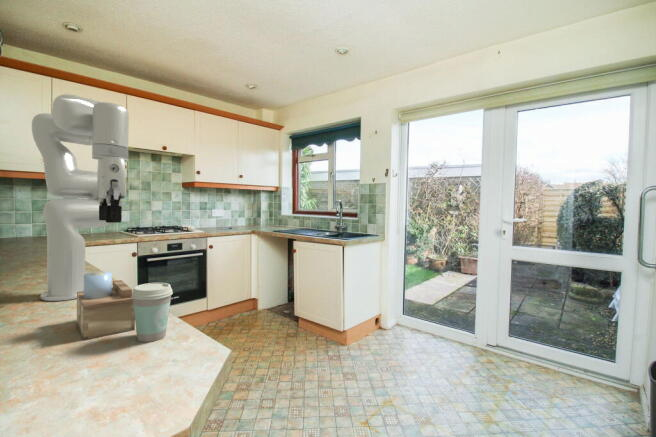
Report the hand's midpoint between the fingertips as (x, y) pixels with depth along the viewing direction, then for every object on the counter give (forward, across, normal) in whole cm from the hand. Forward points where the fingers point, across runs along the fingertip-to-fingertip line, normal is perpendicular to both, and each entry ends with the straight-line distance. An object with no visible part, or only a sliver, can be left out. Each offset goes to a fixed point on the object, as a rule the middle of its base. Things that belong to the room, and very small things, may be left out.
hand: (109, 221), depth 80 cm
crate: (+26, -2, +1) cm, 26 cm away
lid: (+19, -2, +1) cm, 19 cm away
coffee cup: (+26, -16, -6) cm, 32 cm away
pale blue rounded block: (+18, -2, +3) cm, 19 cm away
